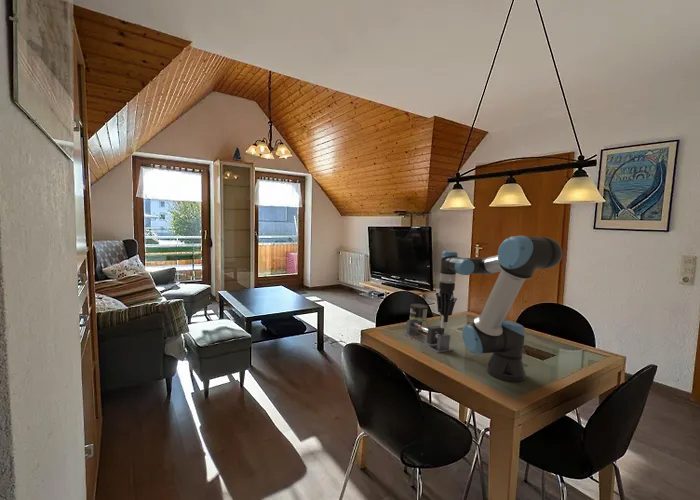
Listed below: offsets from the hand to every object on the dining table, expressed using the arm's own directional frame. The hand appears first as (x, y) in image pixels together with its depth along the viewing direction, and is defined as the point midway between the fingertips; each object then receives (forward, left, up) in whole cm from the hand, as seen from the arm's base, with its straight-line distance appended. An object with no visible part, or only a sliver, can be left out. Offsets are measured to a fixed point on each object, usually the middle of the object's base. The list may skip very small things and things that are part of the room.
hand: (443, 327), depth 171 cm
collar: (+5, 0, -10) cm, 11 cm away
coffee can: (+33, -10, -12) cm, 37 cm away
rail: (+12, 0, -12) cm, 17 cm away
